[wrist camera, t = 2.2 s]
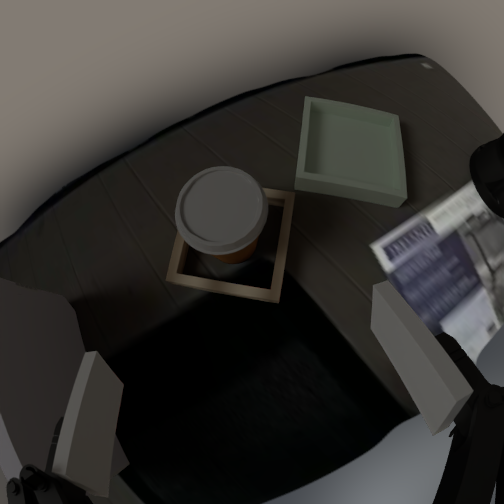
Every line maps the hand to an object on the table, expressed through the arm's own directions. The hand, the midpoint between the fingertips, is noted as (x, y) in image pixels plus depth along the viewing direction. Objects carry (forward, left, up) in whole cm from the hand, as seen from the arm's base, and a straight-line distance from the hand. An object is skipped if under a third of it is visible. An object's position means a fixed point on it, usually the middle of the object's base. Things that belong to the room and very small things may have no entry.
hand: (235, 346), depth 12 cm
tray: (-10, -29, -24) cm, 39 cm away
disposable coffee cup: (+5, -12, -24) cm, 28 cm away
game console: (+24, +14, -24) cm, 37 cm away
